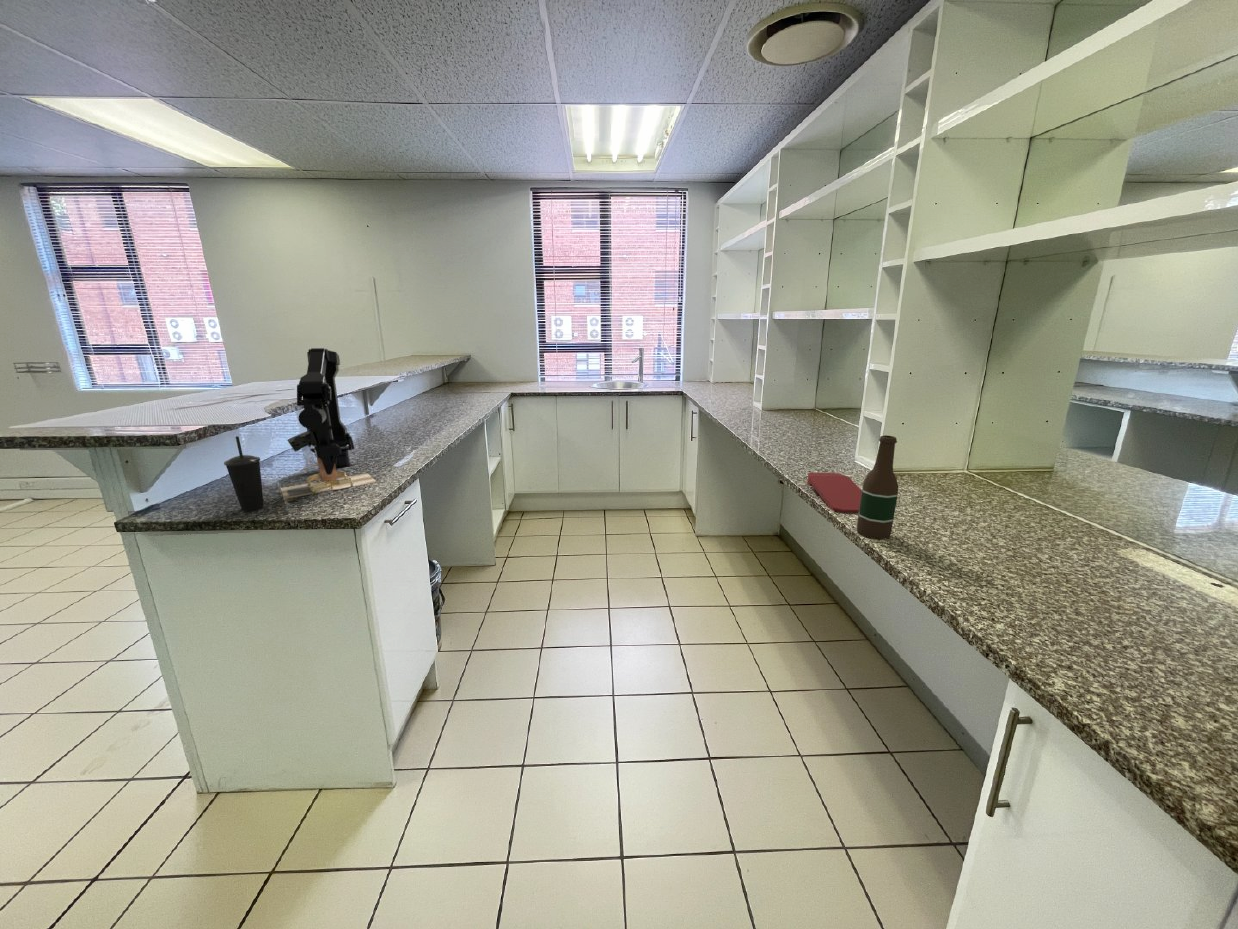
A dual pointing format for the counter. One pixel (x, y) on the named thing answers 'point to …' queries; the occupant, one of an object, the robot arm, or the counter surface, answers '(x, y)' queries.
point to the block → (323, 473)
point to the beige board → (306, 490)
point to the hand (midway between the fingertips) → (327, 472)
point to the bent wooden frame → (330, 482)
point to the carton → (837, 491)
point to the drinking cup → (246, 480)
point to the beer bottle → (879, 494)
